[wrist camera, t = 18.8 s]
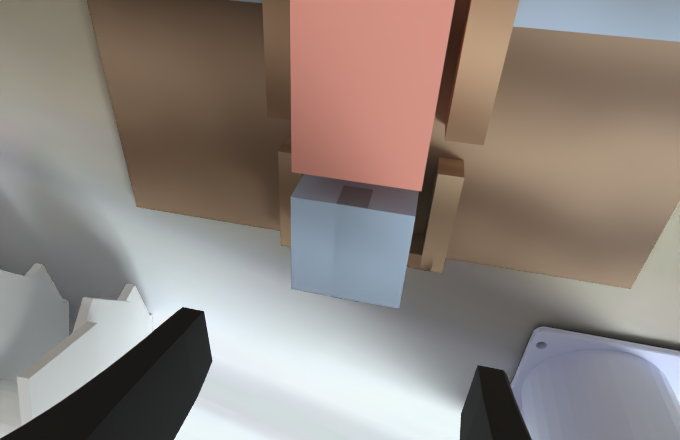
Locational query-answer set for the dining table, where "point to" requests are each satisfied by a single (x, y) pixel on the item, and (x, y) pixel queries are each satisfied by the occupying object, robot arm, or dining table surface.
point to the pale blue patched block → (351, 239)
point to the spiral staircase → (57, 342)
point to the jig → (447, 134)
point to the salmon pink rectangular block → (366, 87)
